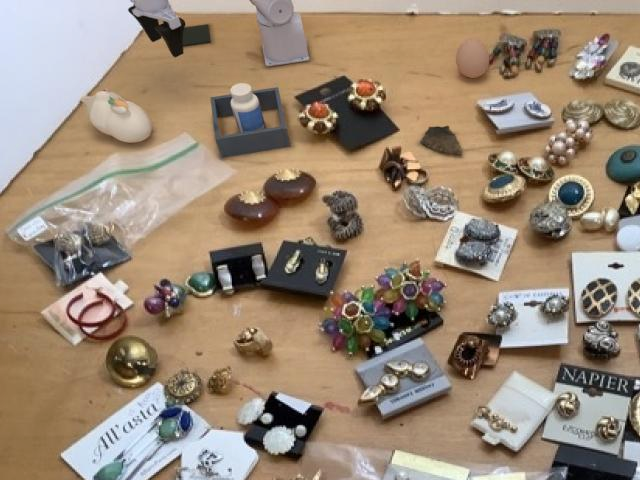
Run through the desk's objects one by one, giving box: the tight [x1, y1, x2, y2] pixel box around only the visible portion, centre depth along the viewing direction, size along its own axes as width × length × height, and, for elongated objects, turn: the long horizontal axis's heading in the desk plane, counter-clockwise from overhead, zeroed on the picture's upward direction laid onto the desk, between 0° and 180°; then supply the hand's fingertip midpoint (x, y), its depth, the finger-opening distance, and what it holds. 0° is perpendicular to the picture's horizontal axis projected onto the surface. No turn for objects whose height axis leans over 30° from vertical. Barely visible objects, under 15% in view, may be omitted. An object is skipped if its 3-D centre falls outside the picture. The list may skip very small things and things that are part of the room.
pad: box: [183, 23, 212, 47], centre depth 183 cm, size 8×7×1 cm
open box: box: [209, 86, 291, 159], centre depth 162 cm, size 14×14×4 cm
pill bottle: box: [230, 82, 267, 133], centre depth 160 cm, size 6×5×10 cm
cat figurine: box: [80, 87, 153, 144], centre depth 160 cm, size 10×8×15 cm
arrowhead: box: [419, 125, 464, 155], centre depth 162 cm, size 7×10×1 cm
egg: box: [455, 37, 490, 79], centre depth 173 cm, size 7×7×8 cm
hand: (167, 47), depth 163 cm, fingers open, 7 cm apart
